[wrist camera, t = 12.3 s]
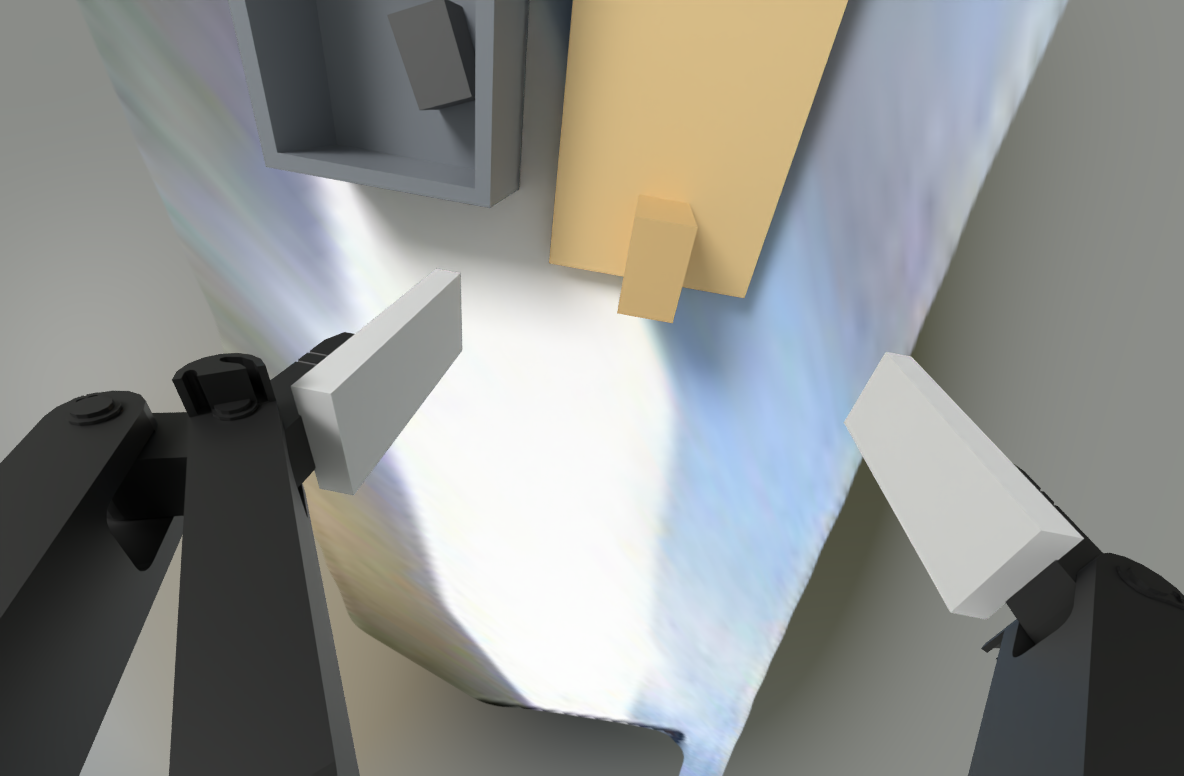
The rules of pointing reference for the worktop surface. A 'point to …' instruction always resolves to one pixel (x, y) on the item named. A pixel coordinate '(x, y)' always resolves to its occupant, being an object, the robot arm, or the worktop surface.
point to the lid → (682, 138)
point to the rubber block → (436, 53)
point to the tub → (382, 97)
